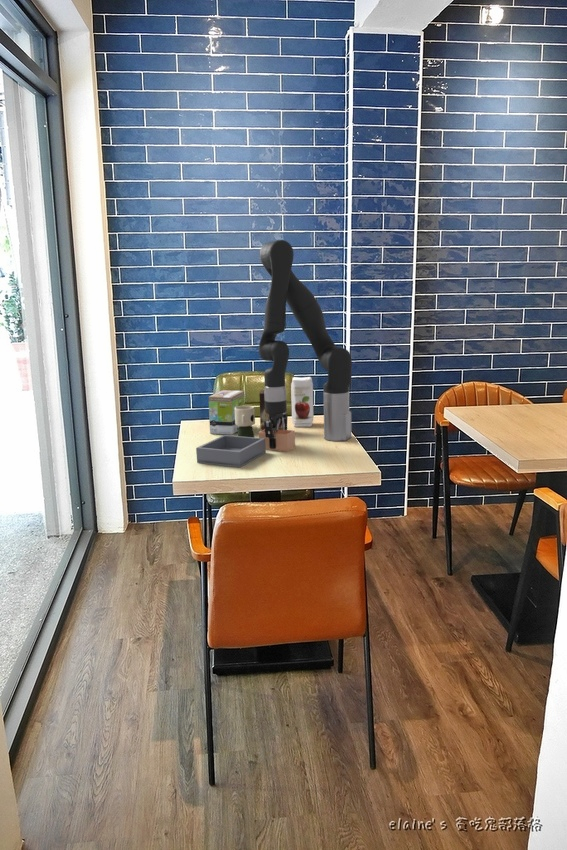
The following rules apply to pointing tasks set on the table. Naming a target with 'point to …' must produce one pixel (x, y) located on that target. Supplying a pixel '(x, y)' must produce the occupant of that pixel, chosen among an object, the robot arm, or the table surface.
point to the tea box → (224, 411)
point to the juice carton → (302, 401)
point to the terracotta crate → (281, 440)
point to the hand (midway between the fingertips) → (277, 445)
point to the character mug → (245, 420)
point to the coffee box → (263, 410)
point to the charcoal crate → (231, 450)
